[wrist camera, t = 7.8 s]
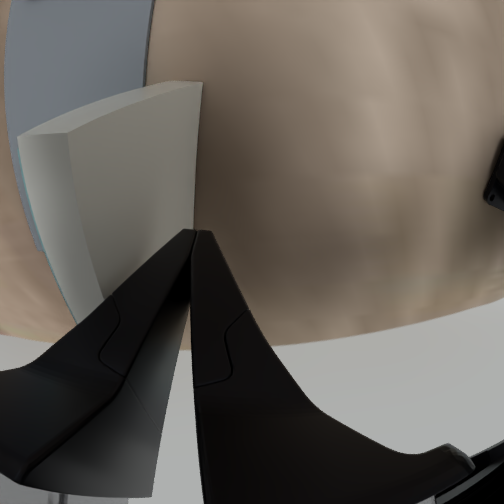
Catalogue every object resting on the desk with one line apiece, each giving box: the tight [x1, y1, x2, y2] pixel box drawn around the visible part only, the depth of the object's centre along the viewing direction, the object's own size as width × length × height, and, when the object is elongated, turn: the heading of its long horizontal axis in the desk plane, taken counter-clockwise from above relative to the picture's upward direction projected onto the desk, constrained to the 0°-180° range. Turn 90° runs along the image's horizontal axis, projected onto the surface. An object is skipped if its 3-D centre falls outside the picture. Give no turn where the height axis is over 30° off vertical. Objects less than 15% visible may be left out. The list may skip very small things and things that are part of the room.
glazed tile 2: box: [17, 81, 203, 325], centre depth 9 cm, size 2×8×8 cm, turn 172°
